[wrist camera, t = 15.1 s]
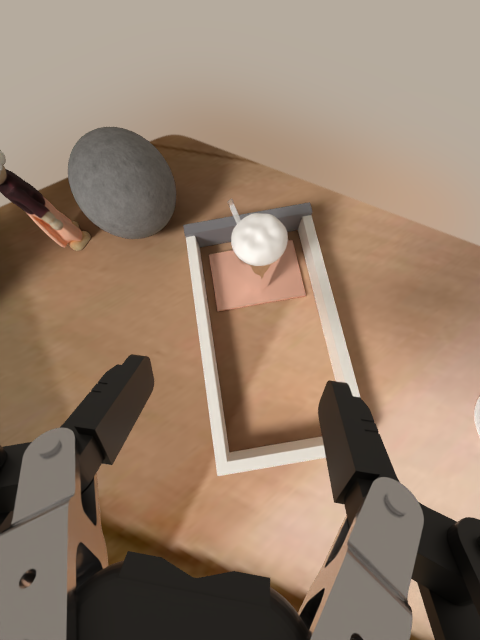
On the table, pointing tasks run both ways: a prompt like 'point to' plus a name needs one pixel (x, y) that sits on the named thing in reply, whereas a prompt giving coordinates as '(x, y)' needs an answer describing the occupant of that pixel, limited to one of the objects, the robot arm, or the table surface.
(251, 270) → the milkshake
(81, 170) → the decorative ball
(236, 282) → the tray
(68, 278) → the table surface
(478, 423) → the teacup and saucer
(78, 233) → the grandmother figurine
